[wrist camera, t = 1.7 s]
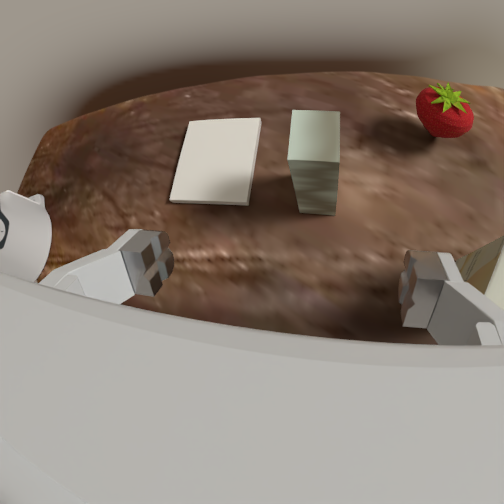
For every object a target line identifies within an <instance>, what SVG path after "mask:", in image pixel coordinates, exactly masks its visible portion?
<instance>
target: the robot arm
mask: <svg viewBox="0 0 504 504" xmlns="http://www.w3.org/2000/svg"><path fill="white" fill-rule="evenodd" d="M51 237H52V228H51V221H50V217H49V215H48V213H47V211H46V209H45V204H44V197H43V196H42V195H40V194H37V195H34V196H32V197H29V198H26V197H24V196H21V195H19V194H16V193H14V192H12V191H9V190H7V191H6V192H2V193H1V194H0V504H504V311H503V310H502V309H501V308H500V307H499V306H497V305H496V304H495V303H494V302H492V301H491V300H490V299H489V298H487V297H486V296H485V295H484V294H482V293H481V292H480V291H478V290H477V289H476V288H474V287H473V286H472V285H471V284H469V283H468V282H464V281H463V279H462V277H461V274H460V272H459V270H458V268H457V266H456V264H455V261H454V259H453V257H452V255H451V254H450V253H441V252H427V251H412V250H408V251H407V252H406V254H405V258H404V266H405V270H404V271H403V272H402V273H401V275H400V280H399V287H398V298H399V302H400V303H401V304H402V308H401V311H400V312H401V319H402V326H405V327H417V328H427V330H428V331H429V333H430V334H431V335H432V337H433V338H434V339H435V340H436V342H437V343H438V344H439V345H424V344H402V343H384V342H370V341H357V340H345V339H334V338H324V337H314V336H305V335H296V334H288V333H280V332H272V331H265V330H258V329H251V328H244V327H237V326H231V325H224V324H218V323H212V322H206V321H201V320H195V319H189V318H184V317H178V316H173V315H168V314H163V313H158V312H153V311H148V310H143V309H139V308H134V307H129V306H125V305H120V304H121V303H122V302H124V301H126V300H127V299H129V298H130V297H132V296H133V295H135V294H140V295H147V296H155V295H156V293H157V292H158V291H159V289H160V288H161V287H162V285H163V284H162V281H163V280H165V279H167V278H169V276H170V275H171V273H172V271H173V267H174V257H173V253H172V252H171V251H170V249H169V248H168V246H169V244H170V240H169V236H168V234H167V233H166V232H165V231H154V230H142V229H129V230H128V231H127V232H126V233H125V234H123V235H122V236H121V237H120V238H119V239H118V240H117V241H115V242H114V243H113V244H112V245H111V246H110V247H109V248H108V249H103V250H100V251H98V252H95V253H93V254H90V255H88V256H86V257H83V258H81V259H78V260H76V261H73V262H71V263H69V264H66V265H64V266H62V267H59V268H57V269H55V270H53V271H52V272H51V273H50V274H49V275H47V276H46V277H45V278H44V279H43V280H42V281H41V282H40V283H39V284H38V283H35V282H34V281H35V280H36V279H37V278H38V276H39V275H40V273H41V272H42V270H43V268H44V266H45V263H46V260H47V257H48V254H49V250H50V245H51Z"/></svg>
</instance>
